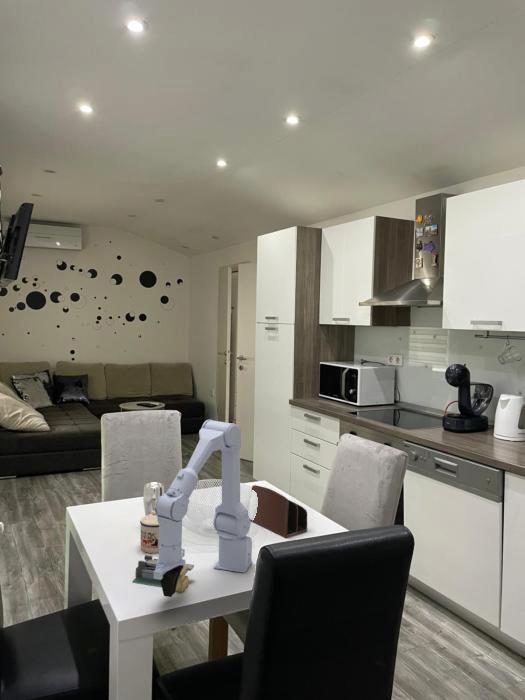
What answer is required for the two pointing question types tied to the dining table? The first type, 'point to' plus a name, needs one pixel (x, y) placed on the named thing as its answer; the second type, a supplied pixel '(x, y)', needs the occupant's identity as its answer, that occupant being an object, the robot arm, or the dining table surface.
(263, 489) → the letter holder
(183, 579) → the clip
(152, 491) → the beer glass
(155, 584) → the block
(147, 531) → the teacup with lid
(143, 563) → the grey forked bracket
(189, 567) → the grey long flat bar
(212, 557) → the dining table surface
